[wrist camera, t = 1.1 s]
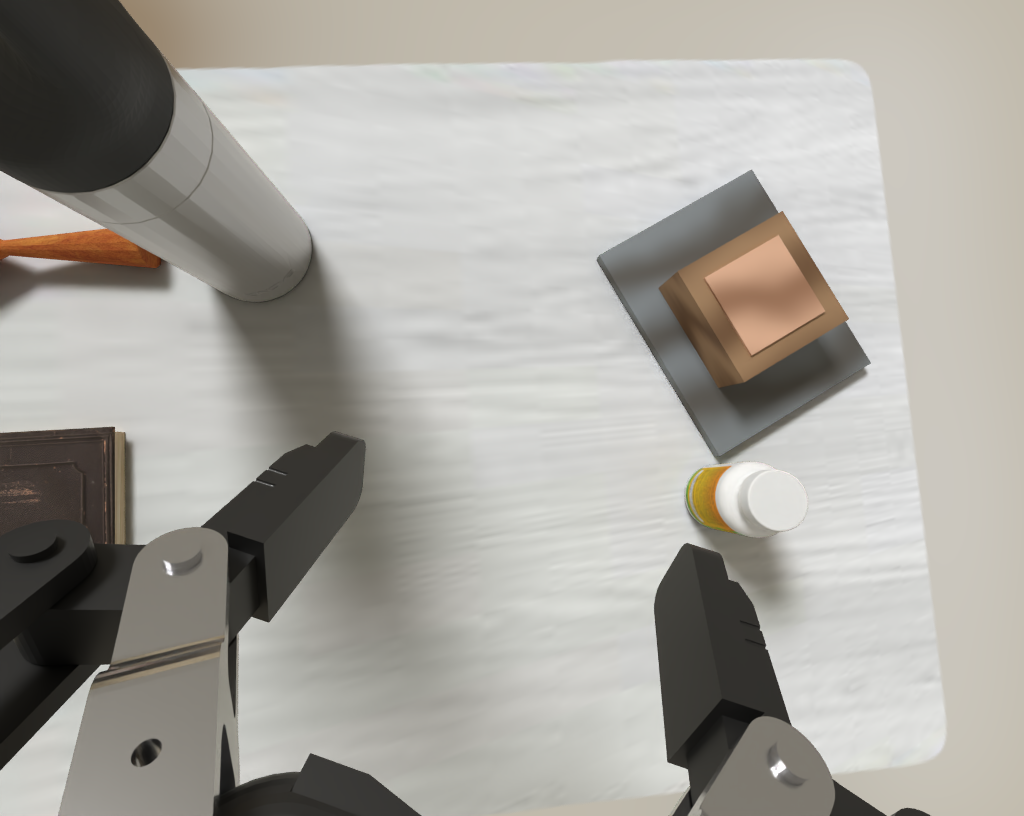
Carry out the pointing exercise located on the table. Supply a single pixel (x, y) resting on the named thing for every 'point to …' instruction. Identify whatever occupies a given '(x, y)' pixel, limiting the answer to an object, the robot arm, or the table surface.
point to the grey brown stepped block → (734, 312)
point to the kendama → (82, 248)
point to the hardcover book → (64, 480)
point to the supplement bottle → (746, 499)
